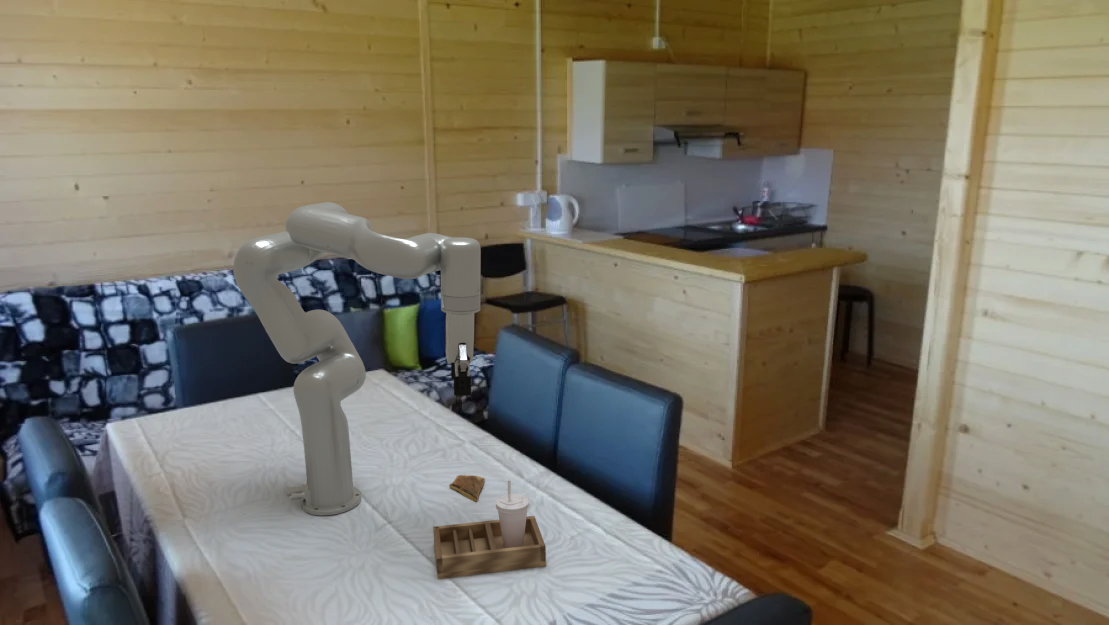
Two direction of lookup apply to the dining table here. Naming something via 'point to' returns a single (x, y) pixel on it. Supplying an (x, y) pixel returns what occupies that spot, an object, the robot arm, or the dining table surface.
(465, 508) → the dining table surface
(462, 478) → the shard
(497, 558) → the wooden shelf
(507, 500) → the smoothie
